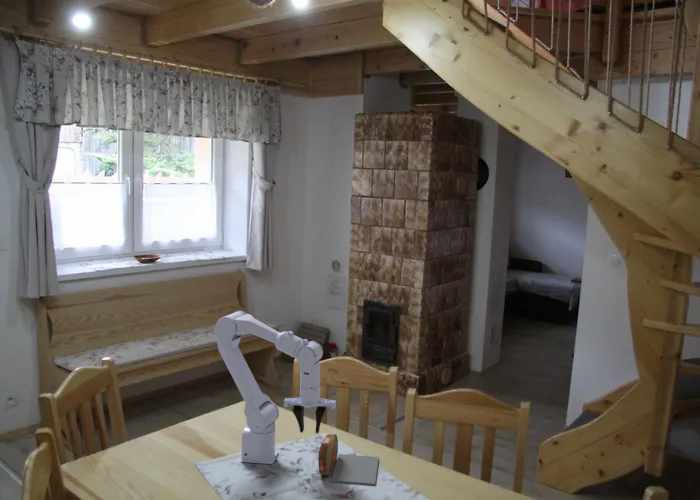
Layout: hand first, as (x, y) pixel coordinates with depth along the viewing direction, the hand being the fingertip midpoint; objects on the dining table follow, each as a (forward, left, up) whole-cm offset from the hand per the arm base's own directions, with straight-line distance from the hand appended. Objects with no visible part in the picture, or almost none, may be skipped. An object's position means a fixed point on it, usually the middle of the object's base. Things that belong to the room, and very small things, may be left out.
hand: (309, 431), depth 171 cm
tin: (+5, 0, -11) cm, 12 cm away
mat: (+14, 0, -10) cm, 17 cm away
